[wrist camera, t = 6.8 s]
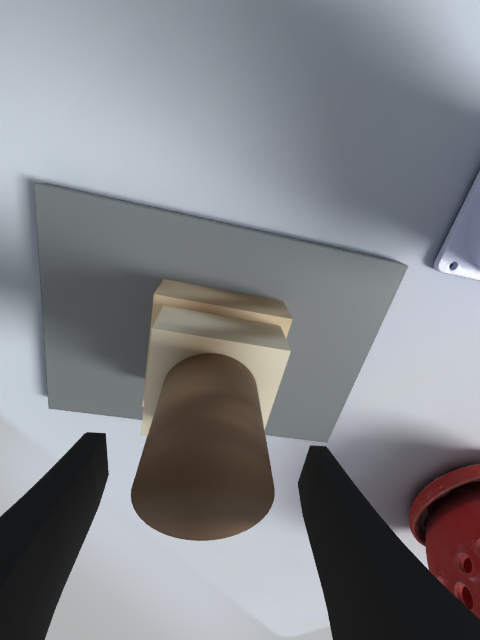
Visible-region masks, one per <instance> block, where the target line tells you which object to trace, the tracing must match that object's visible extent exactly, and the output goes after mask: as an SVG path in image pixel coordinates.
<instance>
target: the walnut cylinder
mask: <svg viewBox="0 0 480 640" xmlns="http://www.w3.org/2000/svg"><path fill="white" fill-rule="evenodd" d="M274 495H275V494H274V484H273V478H272V472H271V466H270V460H269V454H268V448H267V442H266V437H265V431H264V425H263V419H262V413H261V407H260V401H259V395H258V389H257V384H256V381H255V378H254V376H253V375H252V373H251V372H250V370H249V369H248V368H247V367H246V366H245V365H244V364H242V363H241V362H239V361H238V360H236V359H234V358H232V357H229V356H226V355H222V354H216V353H204V354H198V355H194V356H190V357H188V358H186V359H184V360H182V361H180V362H179V363H177V364H176V365H175V366H174V367H173V368H172V369H171V370H170V371H169V372H168V374H167V375H166V377H165V380H164V383H163V386H162V389H161V393H160V396H159V399H158V403H157V406H156V409H155V413H154V416H153V419H152V423H151V426H150V429H149V433H148V436H147V439H146V443H145V446H144V449H143V453H142V456H141V459H140V463H139V466H138V469H137V473H136V476H135V479H134V483H133V486H132V489H131V500H132V504H133V507H134V509H135V511H136V513H137V514H138V516H139V517H140V518H141V519H142V520H143V521H144V522H145V523H146V524H147V525H149V526H150V527H152V528H153V529H155V530H157V531H159V532H161V533H163V534H166V535H169V536H172V537H175V538H180V539H186V540H197V541H205V540H216V539H222V538H227V537H230V536H234V535H236V534H239V533H241V532H244V531H246V530H248V529H249V528H251V527H253V526H254V525H256V524H257V523H258V522H260V521H261V520H262V519H263V518H264V517H265V515H266V514H267V513H268V512H269V510H270V508H271V506H272V504H273V501H274Z"/></svg>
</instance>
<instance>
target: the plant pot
mask: <svg viewBox="0 0 480 640" xmlns="http://www.w3.org/2000/svg"><path fill="white" fill-rule="evenodd" d="M409 524H410V529H411V532H412V534H413V536H414V537H415V539H416V540H417V541H418V542H419V543H421V544H422V545H424V546H426V554H427V562H428V567H429V571H430V572H431V573H432V574H433V575H434V576H435V577H436V578H437V579H438V580H439V581H440V582H441V583H442V584H443V585H444V586H445V587H446V588H447V589H448V590H449V591H450V592H451V593H452V594H453V595H454V596H455V597H456V598H457V599H459V600H460V601H461V602H462V603H463V604H464V605H465V606H466V607H467V608H468V609H469V610H470V611H471V612H472V613H473V614H474V615H475V616H476V617H478V618H479V619H480V464H476V465H470V466H466V467H462V468H459V469H456V470H453V471H450V472H448V473H446V474H444V475H442V476H440V477H438V478H437V479H435V480H433V481H432V482H431V483H429V484H428V485H427V486H426V487H425V488H423V490H422V491H421V492H420V493H419V494H418V495H417V497H416V498H415V500H414V502H413V504H412V507H411V510H410V514H409Z"/></svg>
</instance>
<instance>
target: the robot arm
mask: <svg viewBox="0 0 480 640" xmlns="http://www.w3.org/2000/svg"><path fill="white" fill-rule="evenodd" d="M452 262H453V266H452V267H451V268H449V266H450V264H451V263H452ZM434 268H435V270H437V271H439V272H442V273H447V274H451V275H456V276H460V277H465V278H469V279H474V280H479V281H480V171H479V173H478V175H477V177H476V179H475V181H474V183H473V185H472V187H471V189H470V191H469V193H468V195H467V197H466V200H465V202H464V204H463V206H462V208H461V210H460V212H459V214H458V216H457V218H456V220H455V222H454V224H453V226H452V228H451V230H450V232H449V234H448V236H447V238H446V240H445V242H444V244H443V246H442V248H441V250H440V252H439V254H438V256H437V258H436V260H435V262H434ZM108 475H109V473H108V459H107V446H106V433H91V432H87V433H85V434H84V435H83V436H82V437H81V438H80V439H79V440H78V441H77V442H76V443H75V444H74V445H73V447H72V448H71V449H70V450H69V451H68V452H67V453H66V454H65V455H64V456H63V457H62V458H61V459H60V460H59V461H58V462H57V463H56V464H55V465H54V466H53V467H52V468H51V469H50V470H49V471H48V472H47V473H46V474H45V475H44V476H43V477H42V478H41V479H40V480H39V481H38V482H37V483H36V484H35V485H34V486H33V487H32V488H31V489H30V490H29V491H28V492H27V493H26V494H25V495H24V496H23V497H22V498H20V499H19V500H18V501H17V502H16V503H15V504H14V505H13V506H12V507H11V508H9V509H8V510H7V511H6V512H5V513H4V514H3V515H2V516H1V517H0V640H45V637H46V634H47V631H48V628H49V625H50V623H51V620H52V617H53V614H54V611H55V609H56V606H57V603H58V601H59V598H60V596H61V593H62V591H63V588H64V586H65V584H66V581H67V579H68V577H69V575H70V572H71V570H72V568H73V565H74V563H75V561H76V558H77V556H78V554H79V551H80V549H81V547H82V544H83V542H84V540H85V538H86V535H87V533H88V531H89V528H90V526H91V524H92V521H93V519H94V516H95V514H96V512H97V509H98V506H99V504H100V501H101V498H102V494H103V491H104V488H105V485H106V482H107V478H108ZM298 488H299V495H300V501H301V507H302V513H303V518H304V522H305V525H306V529H307V533H308V537H309V541H310V544H311V548H312V552H313V556H314V559H315V563H316V567H317V571H318V574H319V578H320V582H321V586H322V589H323V593H324V598H325V602H326V606H327V611H328V616H329V621H330V626H331V632H332V637H333V640H480V619H479V618H478V617H476V616H475V615H474V614H473V613H472V612H471V611H470V610H469V609H468V608H467V607H466V606H465V605H464V604H463V603H462V602H461V601H460V600H459V599H457V598H456V597H455V596H454V595H453V594H452V593H451V592H450V591H449V590H448V589H447V588H446V587H445V586H444V585H443V584H442V583H441V582H440V581H439V580H438V579H437V578H436V577H435V576H434V575H433V574H432V573H431V572H430V571H429V570H428V569H427V568H426V567H425V566H424V565H423V564H422V563H421V562H420V561H419V560H418V558H417V557H416V556H415V555H414V554H413V553H412V552H411V551H410V550H409V549H408V548H407V547H406V546H405V545H404V543H403V542H402V541H401V540H400V539H399V538H398V537H397V536H396V534H395V533H394V532H393V531H392V530H391V529H390V527H389V526H388V525H387V524H386V523H385V522H384V520H383V519H382V518H381V517H380V516H379V514H378V513H377V512H376V511H375V509H374V508H373V507H372V506H371V504H370V503H369V502H368V501H367V499H366V498H365V497H364V496H363V494H362V493H361V492H360V491H359V489H358V488H357V487H356V485H355V484H354V483H353V481H352V480H351V479H350V478H349V476H348V475H347V474H346V472H345V471H344V470H343V468H342V467H341V466H340V464H339V463H338V461H337V460H336V459H335V457H334V456H333V455H332V453H331V452H330V451H329V449H328V448H327V447H326V446H310V447H309V451H308V454H307V457H306V460H305V463H304V466H303V469H302V472H301V475H300V478H299V481H298Z"/></svg>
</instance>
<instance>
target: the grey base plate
mask: <svg viewBox="0 0 480 640" xmlns="http://www.w3.org/2000/svg"><path fill="white" fill-rule="evenodd" d="M34 191H35V207H36V222H37V237H38V253H39V268H40V283H41V299H42V314H43V329H44V344H45V360H46V375H47V390H48V406H49V409H57V410H65V411H73V412H81V413H90V414H98V415H106V416H114V417H123V418H131V419H139V420H143V410H144V407H142V406H143V396H144V386H145V376H146V366H147V357H148V347H149V337H150V327H151V318H152V308H153V298H154V293H155V292H156V290H157V288H158V287H159V285H160V284H161V282H162V280H163V279H167V280H172V281H178V282H183V283H188V284H194V285H199V286H204V287H209V288H215V289H220V290H225V291H231V292H236V293H241V294H246V295H252V296H257V297H262V298H268V299H273V300H278V301H283V302H284V304H285V305H286V307H287V309H288V311H289V313H290V315H291V317H292V319H293V320H292V323H291V326H290V329H289V332H288V335H287V338H286V340H287V343H288V345H289V348H290V350H291V352H290V355H289V358H288V361H287V364H286V367H285V370H284V373H283V376H282V379H281V382H280V385H279V388H278V391H277V394H276V397H275V400H274V403H273V406H272V409H271V412H270V415H269V418H268V421H267V424H266V427H265V430H264V431H265V435H270V436H278V437H287V438H295V439H303V440H311V441H319V442H327V441H328V439H329V437H330V435H331V433H332V431H333V428H334V426H335V424H336V422H337V420H338V418H339V415H340V413H341V411H342V409H343V407H344V405H345V402H346V400H347V398H348V396H349V394H350V392H351V389H352V387H353V385H354V383H355V381H356V379H357V376H358V374H359V372H360V370H361V368H362V366H363V363H364V361H365V359H366V357H367V355H368V353H369V350H370V348H371V346H372V344H373V342H374V340H375V337H376V335H377V333H378V331H379V329H380V327H381V324H382V322H383V320H384V318H385V316H386V314H387V311H388V309H389V307H390V305H391V303H392V301H393V298H394V296H395V294H396V292H397V290H398V288H399V285H400V283H401V281H402V279H403V277H404V275H405V272H406V270H407V268H408V266H407V265H405V264H403V263H400V262H397V261H393V260H388V259H384V258H379V257H375V256H370V255H366V254H361V253H357V252H352V251H348V250H343V249H339V248H334V247H330V246H325V245H321V244H316V243H312V242H307V241H303V240H298V239H294V238H289V237H284V236H280V235H275V234H271V233H266V232H262V231H257V230H253V229H248V228H244V227H239V226H235V225H230V224H226V223H221V222H217V221H212V220H208V219H203V218H199V217H194V216H190V215H185V214H181V213H176V212H172V211H167V210H162V209H158V208H153V207H149V206H144V205H140V204H135V203H131V202H126V201H122V200H117V199H113V198H108V197H104V196H99V195H95V194H90V193H86V192H81V191H77V190H72V189H68V188H63V187H59V186H54V185H49V184H34Z"/></svg>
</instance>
